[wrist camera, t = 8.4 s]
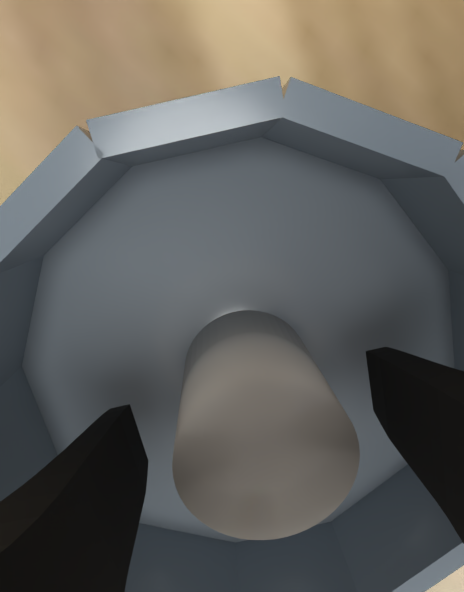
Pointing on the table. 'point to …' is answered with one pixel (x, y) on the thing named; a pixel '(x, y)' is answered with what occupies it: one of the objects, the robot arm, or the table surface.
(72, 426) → the bowl
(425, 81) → the table surface
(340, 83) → the table surface
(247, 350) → the pebble
